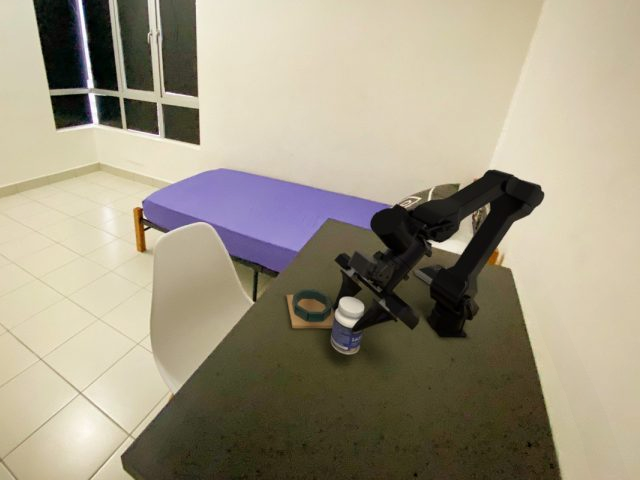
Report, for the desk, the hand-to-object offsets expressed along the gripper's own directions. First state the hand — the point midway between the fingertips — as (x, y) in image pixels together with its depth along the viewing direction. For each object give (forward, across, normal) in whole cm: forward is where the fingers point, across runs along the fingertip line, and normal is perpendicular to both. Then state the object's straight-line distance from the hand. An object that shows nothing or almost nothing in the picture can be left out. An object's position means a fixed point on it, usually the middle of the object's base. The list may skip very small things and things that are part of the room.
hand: (343, 319), depth 64 cm
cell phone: (-24, -17, +43) cm, 52 cm away
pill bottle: (+4, 0, +6) cm, 7 cm away
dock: (+6, -16, +11) cm, 20 cm away
